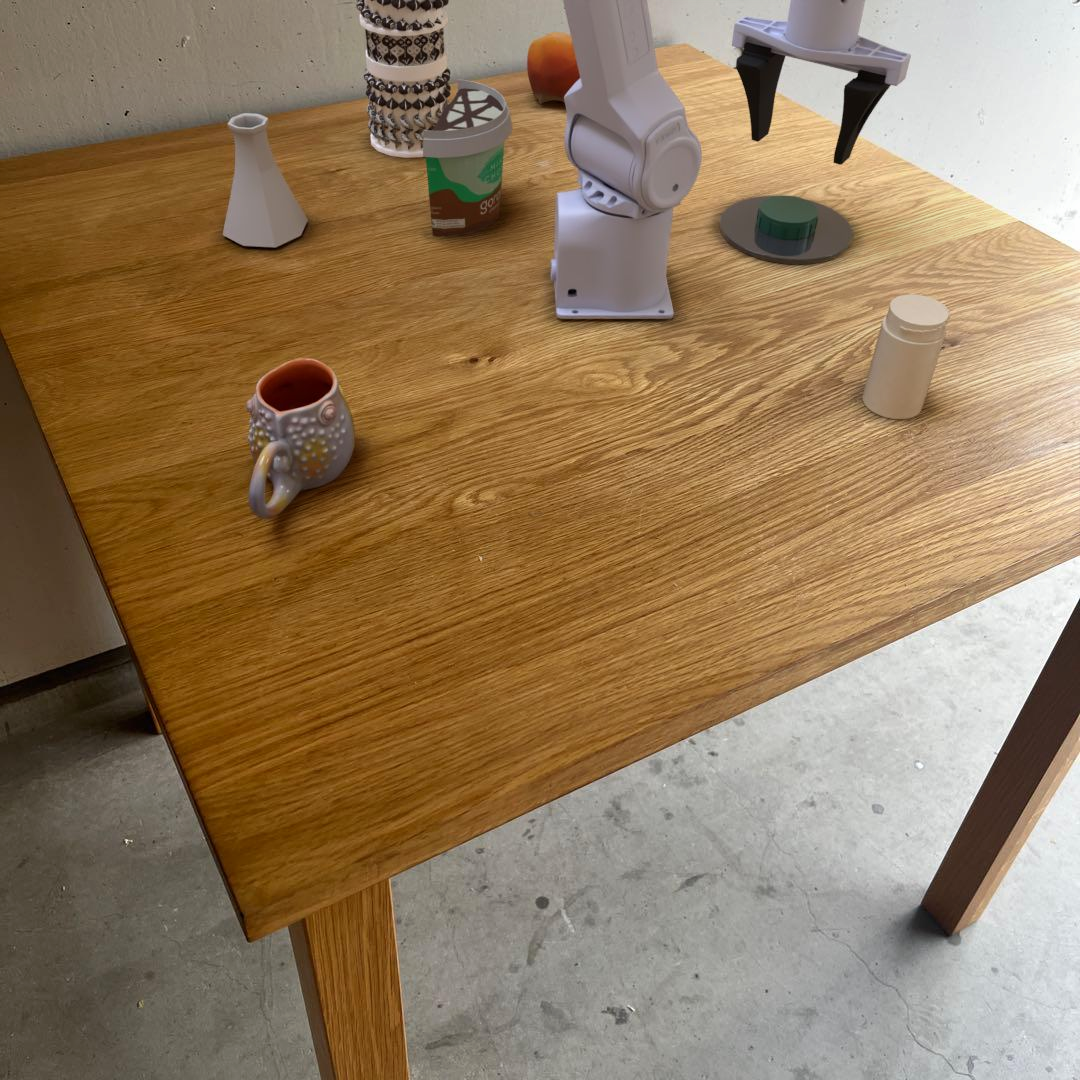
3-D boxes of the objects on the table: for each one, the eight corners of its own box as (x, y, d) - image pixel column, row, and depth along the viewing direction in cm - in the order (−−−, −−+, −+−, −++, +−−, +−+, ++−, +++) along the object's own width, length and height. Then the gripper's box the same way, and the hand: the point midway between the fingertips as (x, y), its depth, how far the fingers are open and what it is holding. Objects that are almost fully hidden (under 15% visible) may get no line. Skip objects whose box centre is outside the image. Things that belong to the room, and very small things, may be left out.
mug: (280, 423, 79) (266, 345, 74) (372, 438, 78) (363, 359, 73) (206, 536, 70) (184, 454, 65) (307, 554, 69) (293, 473, 64)
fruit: (516, 102, 117) (524, 21, 115) (527, 115, 124) (534, 39, 123) (592, 109, 116) (601, 27, 114) (598, 121, 123) (606, 44, 122)
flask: (208, 240, 97) (185, 129, 90) (253, 205, 102) (235, 97, 95) (279, 257, 95) (261, 145, 89) (321, 220, 100) (308, 111, 93)
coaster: (730, 264, 96) (730, 259, 96) (710, 200, 105) (711, 195, 104) (866, 264, 96) (867, 259, 96) (835, 200, 105) (836, 195, 105)
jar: (883, 424, 80) (910, 331, 74) (850, 390, 83) (874, 298, 77) (934, 412, 81) (965, 320, 75) (900, 379, 84) (927, 288, 78)
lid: (819, 240, 98) (822, 223, 97) (760, 239, 98) (763, 222, 97) (809, 212, 102) (813, 196, 101) (753, 211, 102) (756, 194, 101)
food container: (495, 251, 97) (494, 140, 90) (428, 243, 98) (421, 132, 91) (524, 188, 106) (526, 83, 99) (462, 181, 106) (459, 76, 100)
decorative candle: (428, 166, 109) (413, -122, 91) (349, 148, 111) (319, -136, 94) (472, 132, 115) (465, -145, 97) (395, 115, 117) (375, -157, 100)
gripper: (939, -16, 85) (897, 153, 95) (769, -51, 91) (744, 112, 100) (907, 9, 81) (866, 183, 90) (730, -29, 87) (708, 139, 96)
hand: (800, 148), depth 95 cm, fingers open, 7 cm apart
